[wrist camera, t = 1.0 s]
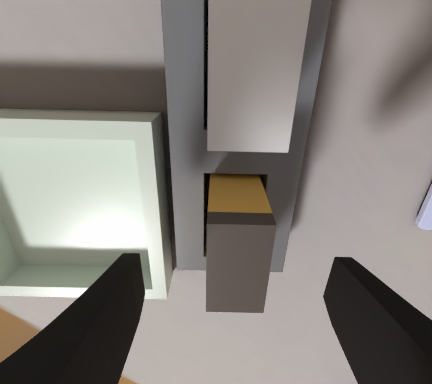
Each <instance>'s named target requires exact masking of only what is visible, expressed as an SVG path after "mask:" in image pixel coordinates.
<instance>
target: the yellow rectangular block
mask: <svg viewBox="0 0 432 384" xmlns="http://www.w3.org/2000/svg"><path fill="white" fill-rule="evenodd" d="M276 227H277V225H276V222H275V219H274V216H273V213H272V210H271V207H270V205H269V202H268V199H267V196H266V193H265V190H264V187H263V184H262V182H261V179H260V176H259V174H229V173H210V185H209V199H208V213H207V253H206V312H247V313H263V312H264V305H265V299H266V292H267V286H268V279H269V273H270V266H271V260H272V253H273V247H274V240H275V234H276Z"/></svg>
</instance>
